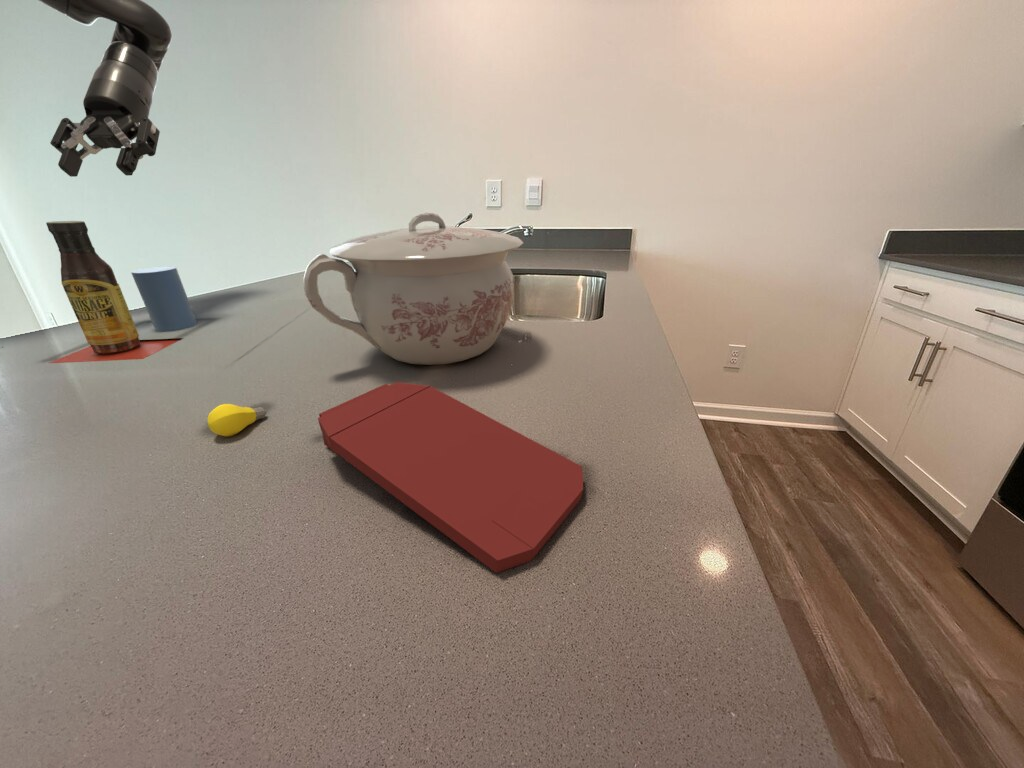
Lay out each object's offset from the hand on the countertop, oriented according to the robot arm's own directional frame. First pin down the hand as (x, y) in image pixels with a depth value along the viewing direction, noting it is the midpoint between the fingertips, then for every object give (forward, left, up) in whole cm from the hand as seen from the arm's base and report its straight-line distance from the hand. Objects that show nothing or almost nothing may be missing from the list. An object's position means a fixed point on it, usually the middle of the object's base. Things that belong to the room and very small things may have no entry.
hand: (95, 171), depth 65 cm
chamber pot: (+53, -15, -28) cm, 62 cm away
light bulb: (+33, -37, -28) cm, 57 cm away
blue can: (+2, +1, -27) cm, 27 cm away
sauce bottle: (0, -9, -27) cm, 28 cm away
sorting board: (0, -5, -27) cm, 28 cm away
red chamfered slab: (+56, -47, -28) cm, 78 cm away
